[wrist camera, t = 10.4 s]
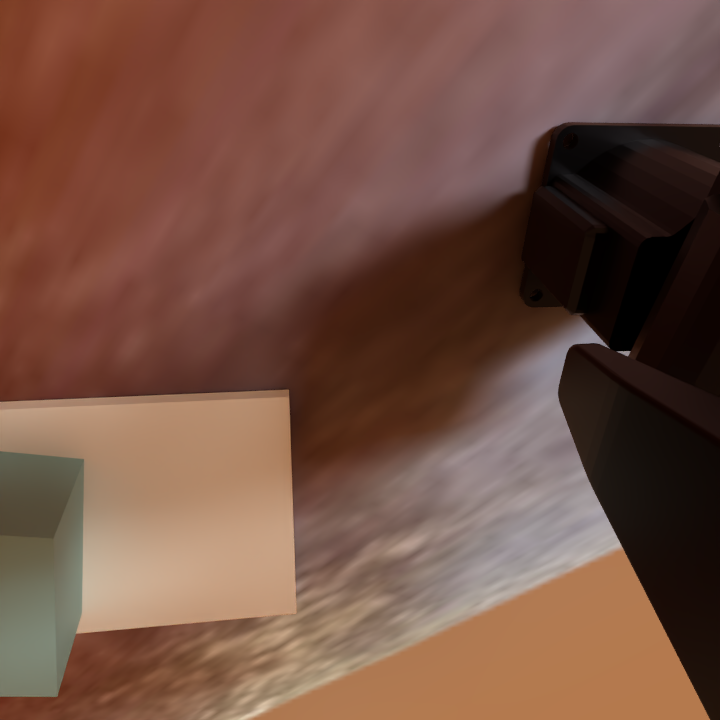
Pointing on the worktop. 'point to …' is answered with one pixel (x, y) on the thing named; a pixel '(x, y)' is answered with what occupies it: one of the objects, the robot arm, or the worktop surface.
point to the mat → (174, 502)
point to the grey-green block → (39, 570)
